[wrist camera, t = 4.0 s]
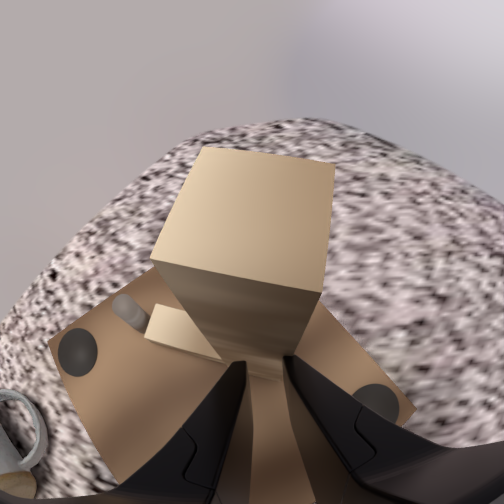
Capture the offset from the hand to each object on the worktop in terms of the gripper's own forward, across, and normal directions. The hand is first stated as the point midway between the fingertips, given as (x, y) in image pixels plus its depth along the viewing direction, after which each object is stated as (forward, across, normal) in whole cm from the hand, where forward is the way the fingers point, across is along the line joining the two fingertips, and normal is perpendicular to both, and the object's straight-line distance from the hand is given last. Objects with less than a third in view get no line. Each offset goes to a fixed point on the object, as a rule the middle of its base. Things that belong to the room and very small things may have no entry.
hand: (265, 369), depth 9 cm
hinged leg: (+7, +2, +3) cm, 7 cm away
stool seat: (+6, +3, +6) cm, 9 cm away
